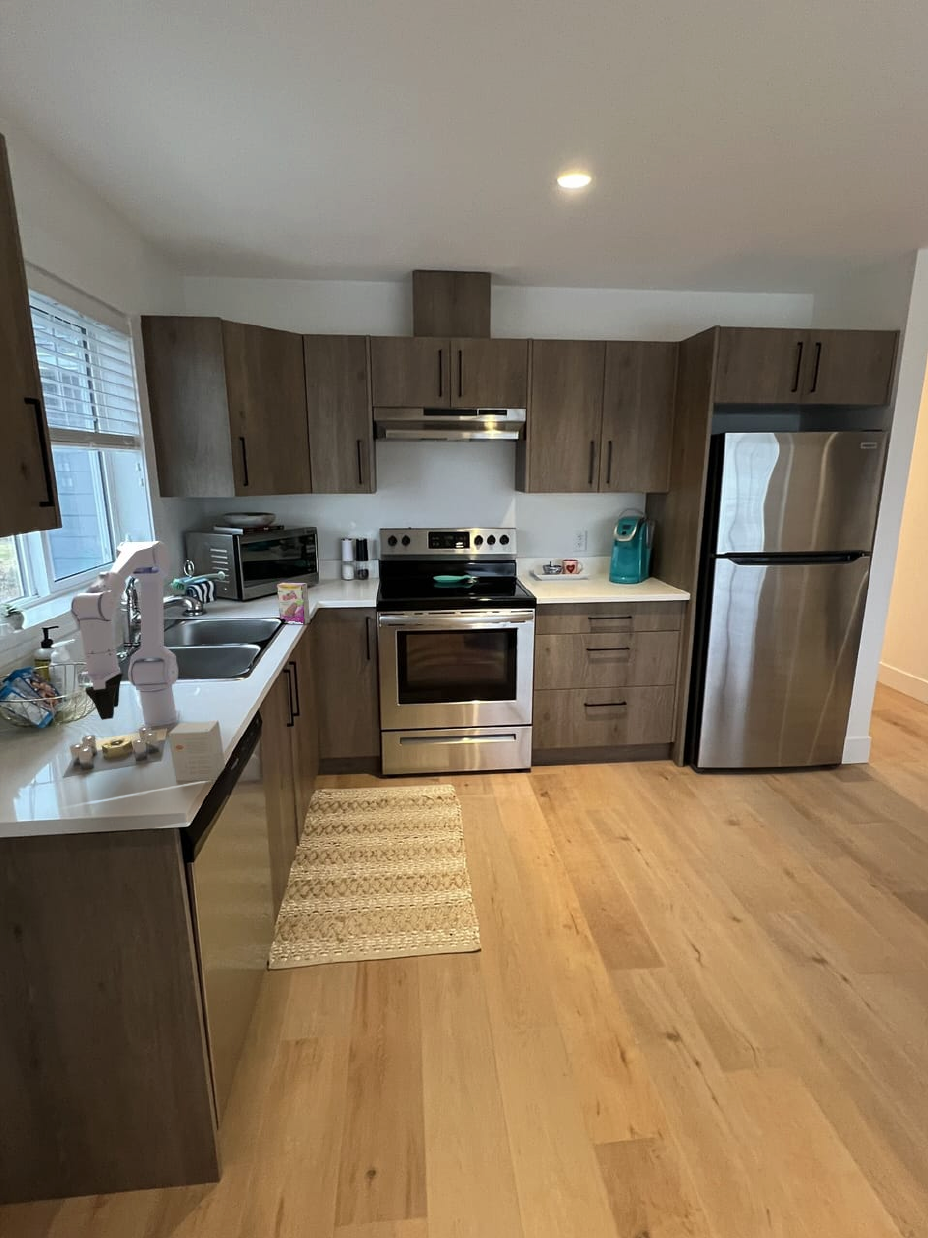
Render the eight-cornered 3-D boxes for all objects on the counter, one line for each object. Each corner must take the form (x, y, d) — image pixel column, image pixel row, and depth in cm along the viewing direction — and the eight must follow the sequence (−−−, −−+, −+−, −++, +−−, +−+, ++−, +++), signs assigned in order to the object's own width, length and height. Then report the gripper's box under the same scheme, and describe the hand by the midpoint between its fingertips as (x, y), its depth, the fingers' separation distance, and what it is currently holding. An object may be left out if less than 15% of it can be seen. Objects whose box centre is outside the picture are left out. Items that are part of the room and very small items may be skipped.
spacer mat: (81, 743, 144) (81, 741, 143) (167, 729, 150) (167, 728, 150) (62, 779, 126) (62, 777, 126) (161, 762, 132) (161, 760, 132)
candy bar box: (279, 624, 255) (276, 584, 251) (286, 621, 259) (282, 582, 256) (305, 625, 252) (301, 584, 248) (311, 622, 257) (307, 582, 253)
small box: (226, 768, 129) (219, 720, 127) (216, 781, 123) (209, 731, 121) (186, 770, 129) (179, 721, 126) (175, 783, 123) (167, 733, 121)
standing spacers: (78, 754, 137) (75, 737, 136) (161, 741, 142) (158, 724, 141) (69, 772, 128) (65, 754, 127) (157, 758, 134) (154, 740, 133)
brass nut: (105, 751, 138) (103, 740, 137) (134, 746, 140) (132, 735, 139) (101, 760, 133) (99, 749, 133) (131, 755, 135) (130, 744, 135)
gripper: (84, 644, 135) (94, 705, 138) (71, 661, 122) (82, 727, 124) (121, 640, 137) (130, 700, 140) (112, 656, 124) (122, 721, 127)
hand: (110, 712), depth 132 cm, fingers open, 7 cm apart
